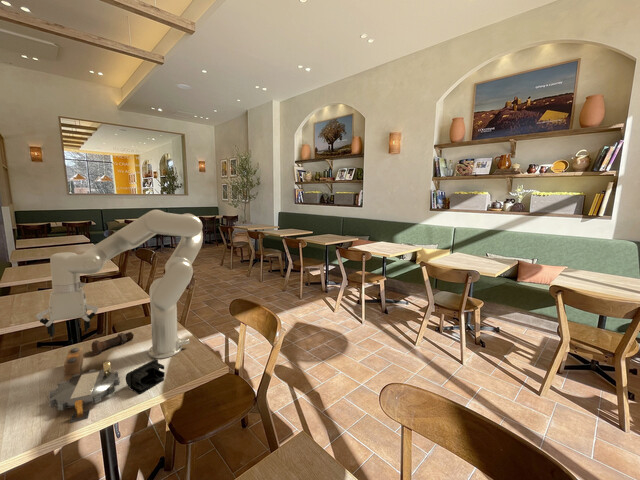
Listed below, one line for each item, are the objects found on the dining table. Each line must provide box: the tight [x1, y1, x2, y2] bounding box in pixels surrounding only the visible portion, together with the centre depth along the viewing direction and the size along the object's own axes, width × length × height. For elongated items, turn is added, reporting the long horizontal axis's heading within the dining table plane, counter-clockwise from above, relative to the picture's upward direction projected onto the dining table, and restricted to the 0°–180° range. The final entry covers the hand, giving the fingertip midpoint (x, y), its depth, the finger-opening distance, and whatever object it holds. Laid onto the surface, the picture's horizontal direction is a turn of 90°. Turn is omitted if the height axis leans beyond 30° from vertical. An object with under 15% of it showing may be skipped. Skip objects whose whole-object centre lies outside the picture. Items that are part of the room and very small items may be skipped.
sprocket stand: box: [70, 402, 90, 423], centre depth 93 cm, size 6×16×4 cm, turn 30°
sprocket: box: [48, 360, 121, 411], centre depth 97 cm, size 18×18×6 cm
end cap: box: [125, 358, 165, 395], centre depth 104 cm, size 10×7×7 cm
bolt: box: [91, 331, 135, 355], centre depth 128 cm, size 6×5×15 cm
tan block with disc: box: [63, 346, 84, 381], centre depth 110 cm, size 4×12×7 cm, turn 33°
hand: (69, 332), depth 108 cm, fingers open, 9 cm apart
